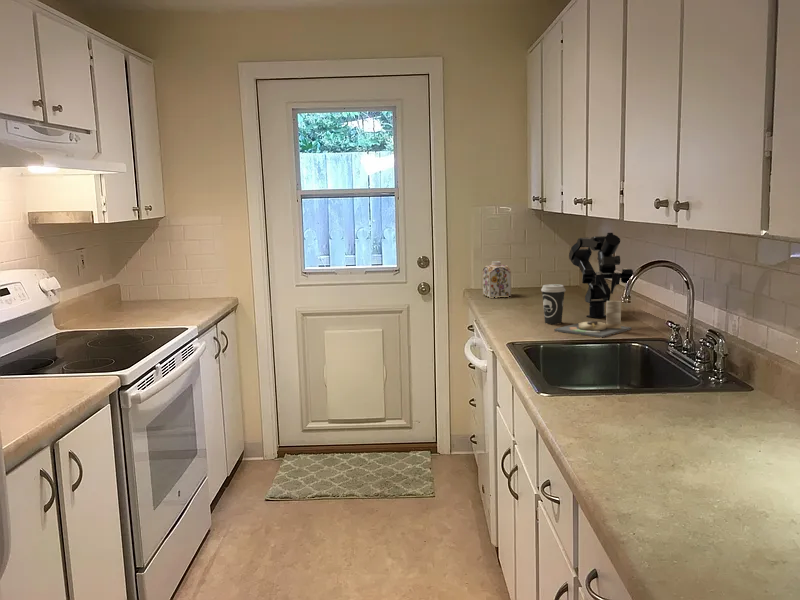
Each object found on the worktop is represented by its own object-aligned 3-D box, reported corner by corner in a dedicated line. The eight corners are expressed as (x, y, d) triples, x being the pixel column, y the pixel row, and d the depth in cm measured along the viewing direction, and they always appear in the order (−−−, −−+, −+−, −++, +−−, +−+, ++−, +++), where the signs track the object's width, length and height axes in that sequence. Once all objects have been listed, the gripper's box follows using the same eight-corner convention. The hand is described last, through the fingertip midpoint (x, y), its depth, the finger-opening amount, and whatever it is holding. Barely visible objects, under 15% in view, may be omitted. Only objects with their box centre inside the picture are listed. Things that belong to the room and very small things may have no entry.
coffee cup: (566, 325, 269) (566, 286, 267) (541, 324, 271) (540, 287, 269) (565, 320, 278) (565, 283, 276) (541, 320, 280) (540, 284, 278)
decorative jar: (482, 295, 357) (481, 261, 355) (503, 294, 359) (503, 260, 357) (489, 298, 345) (489, 263, 343) (511, 297, 348) (511, 262, 345)
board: (584, 323, 271) (584, 320, 271) (631, 329, 256) (631, 326, 256) (554, 331, 258) (554, 328, 257) (601, 337, 243) (601, 334, 243)
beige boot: (580, 331, 249) (580, 304, 248) (577, 325, 261) (577, 299, 260) (623, 331, 246) (624, 304, 245) (618, 325, 259) (619, 299, 257)
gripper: (582, 249, 267) (585, 280, 257) (633, 248, 263) (637, 280, 254) (581, 267, 275) (583, 298, 266) (629, 266, 272) (633, 298, 263)
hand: (609, 293), depth 262 cm, fingers closed
